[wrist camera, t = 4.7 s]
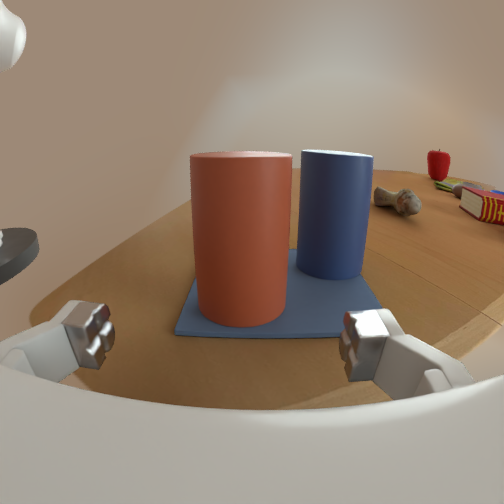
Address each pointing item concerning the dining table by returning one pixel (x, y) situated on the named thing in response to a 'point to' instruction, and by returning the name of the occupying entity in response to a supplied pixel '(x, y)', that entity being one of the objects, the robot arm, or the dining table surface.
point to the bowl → (497, 192)
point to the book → (483, 205)
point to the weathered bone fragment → (398, 200)
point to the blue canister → (333, 213)
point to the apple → (438, 164)
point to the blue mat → (290, 309)
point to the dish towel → (450, 183)
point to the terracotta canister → (241, 234)
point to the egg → (458, 190)
